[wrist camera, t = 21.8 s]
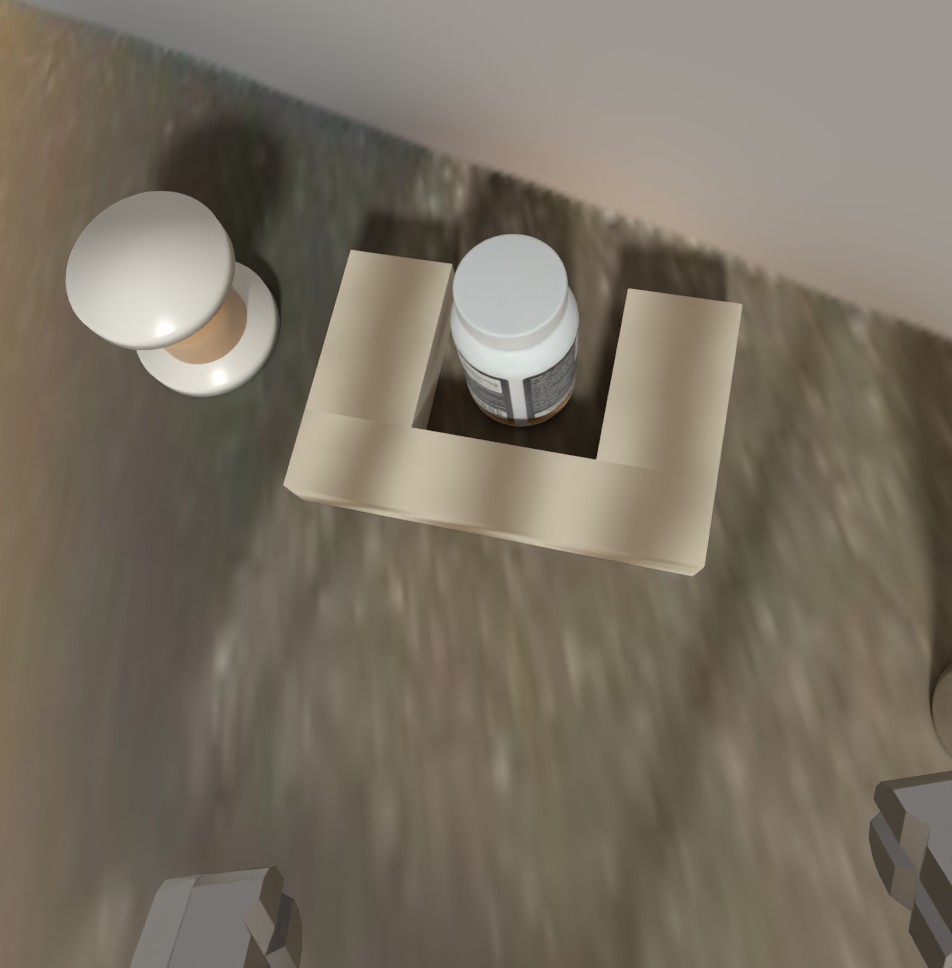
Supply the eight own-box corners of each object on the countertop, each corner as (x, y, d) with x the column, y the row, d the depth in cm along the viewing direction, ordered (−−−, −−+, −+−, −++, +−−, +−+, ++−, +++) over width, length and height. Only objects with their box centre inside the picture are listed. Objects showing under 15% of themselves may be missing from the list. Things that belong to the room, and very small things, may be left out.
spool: (125, 384, 42) (42, 327, 35) (169, 259, 44) (98, 181, 37) (257, 407, 40) (197, 353, 34) (296, 277, 42) (246, 201, 36)
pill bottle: (564, 321, 40) (568, 207, 30) (584, 420, 38) (594, 333, 29) (460, 340, 40) (431, 234, 31) (476, 439, 39) (450, 360, 29)
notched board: (303, 500, 39) (283, 485, 36) (365, 279, 42) (350, 249, 39) (692, 576, 36) (704, 566, 33) (728, 332, 39) (742, 304, 36)
